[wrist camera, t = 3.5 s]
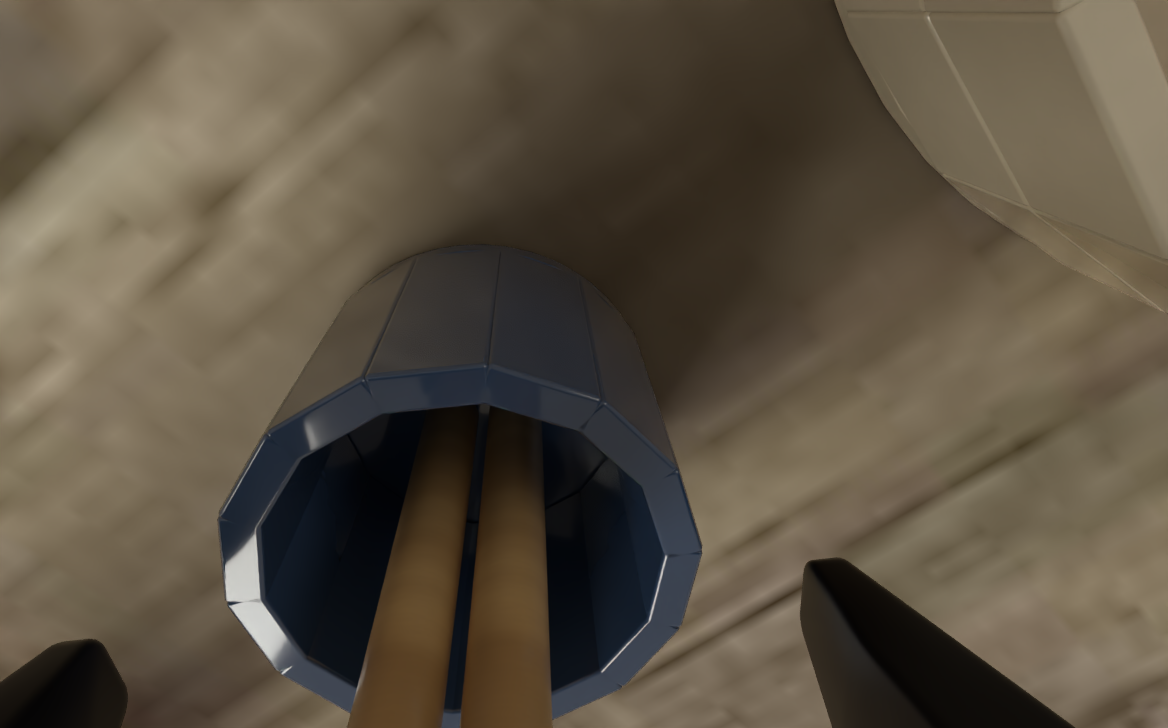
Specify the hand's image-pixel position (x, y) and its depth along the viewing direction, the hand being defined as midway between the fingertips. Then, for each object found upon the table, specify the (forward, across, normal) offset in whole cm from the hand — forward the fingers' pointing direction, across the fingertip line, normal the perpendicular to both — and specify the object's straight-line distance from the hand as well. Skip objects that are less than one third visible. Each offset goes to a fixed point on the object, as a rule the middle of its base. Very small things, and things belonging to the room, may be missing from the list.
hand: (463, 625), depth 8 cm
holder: (+5, 0, 0) cm, 5 cm away
